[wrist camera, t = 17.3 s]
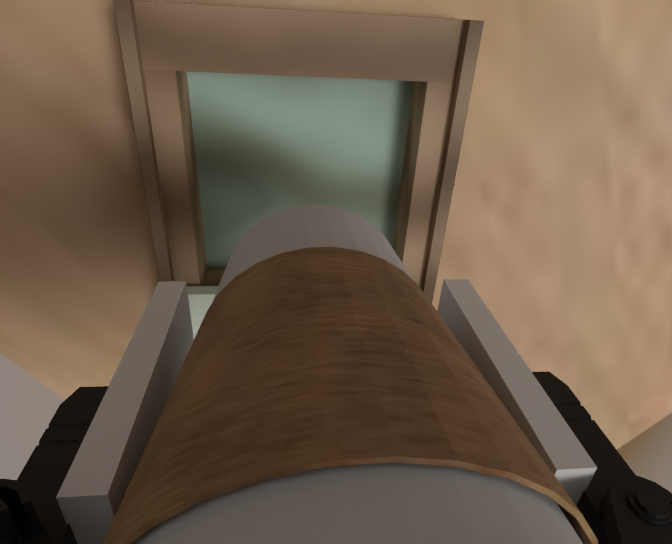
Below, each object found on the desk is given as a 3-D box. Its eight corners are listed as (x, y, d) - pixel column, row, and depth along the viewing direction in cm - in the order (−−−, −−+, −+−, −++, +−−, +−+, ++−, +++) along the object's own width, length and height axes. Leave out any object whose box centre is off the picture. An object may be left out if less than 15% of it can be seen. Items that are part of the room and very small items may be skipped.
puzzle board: (135, 0, 20) (110, -1, 17) (458, 19, 22) (486, 21, 19) (195, 414, 33) (186, 455, 30) (396, 406, 35) (407, 444, 32)
